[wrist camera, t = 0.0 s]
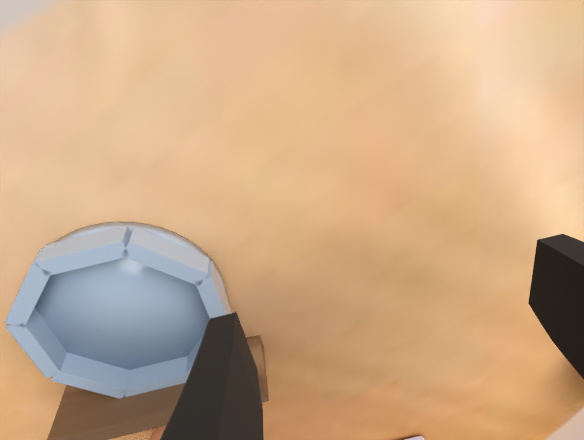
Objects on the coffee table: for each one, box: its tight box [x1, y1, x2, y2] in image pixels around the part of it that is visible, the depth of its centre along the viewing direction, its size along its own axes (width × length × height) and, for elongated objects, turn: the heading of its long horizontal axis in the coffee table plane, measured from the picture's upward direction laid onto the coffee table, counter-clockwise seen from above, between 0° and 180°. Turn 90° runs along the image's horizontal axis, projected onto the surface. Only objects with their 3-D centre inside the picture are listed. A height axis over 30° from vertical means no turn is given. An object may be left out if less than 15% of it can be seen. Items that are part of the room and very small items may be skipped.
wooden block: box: [47, 336, 269, 440], centre depth 23 cm, size 1×11×4 cm, turn 101°
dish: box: [5, 222, 232, 399], centre depth 21 cm, size 9×9×2 cm
